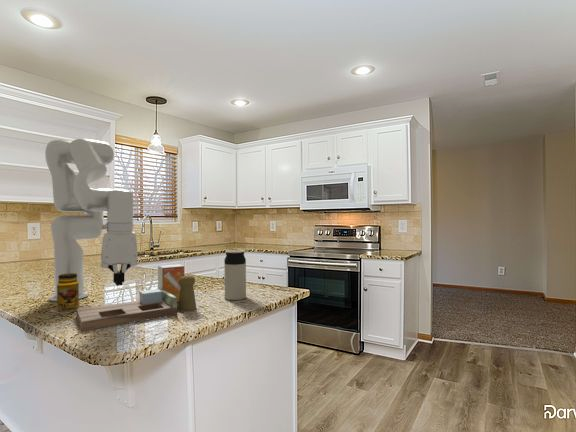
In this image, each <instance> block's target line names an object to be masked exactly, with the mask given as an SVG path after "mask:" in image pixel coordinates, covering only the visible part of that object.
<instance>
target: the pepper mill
mask: <svg viewBox="0 0 576 432" xmlns="http://www.w3.org/2000/svg"><path fill="white" fill-rule="evenodd" d="M195 283H196V280H195V277H194V276H192V275H184V276H183V277H181V278H180V279H179V285H180V286H181V287H180V295H179V302H177V312H178V311H179V312H192V311H195V310H197V303H196V296H195V289H194V286H195Z"/></svg>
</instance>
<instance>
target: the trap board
mask: <svg viewBox="0 0 576 432" xmlns="http://www.w3.org/2000/svg"><path fill="white" fill-rule="evenodd" d="M159 290H161V291H162V302H158V303H151V304H144V305H143V304H142V303H141V302H140V300H135V301H127V302H126V301H125V302H119V303H113V304H105V305H98V306H97V305H95V306H91V307H85V308H82V309H77V311H76V319H77V322H78V324H79V327H80V330H81V332H84V331H90V330H96V329H101V328H108V327H113V326H119V324H120V325H124V324H123V323H126V324H130V323H129V322H132V323H135V322H134V321H138V322H142V320H144V321H148V320H147V319H149V320H154V319H153V318H155V319H160V318H159V317H161V318H165V316H167V317H172V316H177V315H178V302H177V297H175V296H174V295H172V294H170V293H169V292H167V291H165V290H163V289H159Z"/></svg>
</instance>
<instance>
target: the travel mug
mask: <svg viewBox="0 0 576 432" xmlns="http://www.w3.org/2000/svg"><path fill="white" fill-rule="evenodd" d="M224 252H225V258H224V299H225V300H228V301H241V300H244V299H245V298H246V297H247V265H246V264H247V260H246V257H245V252H246V250H245V249H227V250H224Z"/></svg>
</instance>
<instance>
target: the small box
mask: <svg viewBox="0 0 576 432" xmlns="http://www.w3.org/2000/svg"><path fill="white" fill-rule="evenodd" d="M183 276H185V265H183V264H180V263H179V264H165V265H158V266H157V289H163V290H165V291H167V292H169V293H170V294H172V295H174V296H175V297H177V303H179V295H180V287H181V286H180V285H179V279H180V278H181V277H183Z"/></svg>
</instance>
